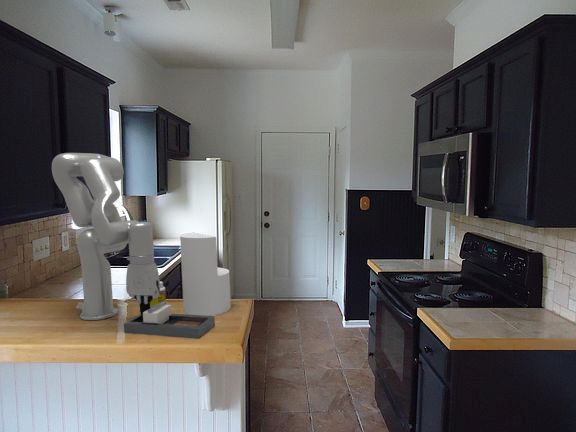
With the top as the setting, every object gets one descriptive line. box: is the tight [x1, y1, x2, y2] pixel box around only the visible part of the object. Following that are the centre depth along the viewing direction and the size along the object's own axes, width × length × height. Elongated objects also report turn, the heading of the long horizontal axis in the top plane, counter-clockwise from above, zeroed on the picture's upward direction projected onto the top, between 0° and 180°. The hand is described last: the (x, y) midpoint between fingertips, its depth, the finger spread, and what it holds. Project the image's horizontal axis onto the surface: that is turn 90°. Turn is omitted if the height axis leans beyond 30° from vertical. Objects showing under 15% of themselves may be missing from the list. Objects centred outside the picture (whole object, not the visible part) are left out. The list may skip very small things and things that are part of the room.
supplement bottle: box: [150, 281, 167, 308], centre depth 161 cm, size 6×6×10 cm
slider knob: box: [143, 301, 173, 324], centre depth 141 cm, size 5×9×6 cm, turn 166°
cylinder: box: [179, 232, 232, 316], centre depth 159 cm, size 17×17×28 cm
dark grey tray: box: [123, 313, 216, 339], centre depth 140 cm, size 26×12×3 cm, turn 76°
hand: (145, 314), depth 142 cm, fingers closed
